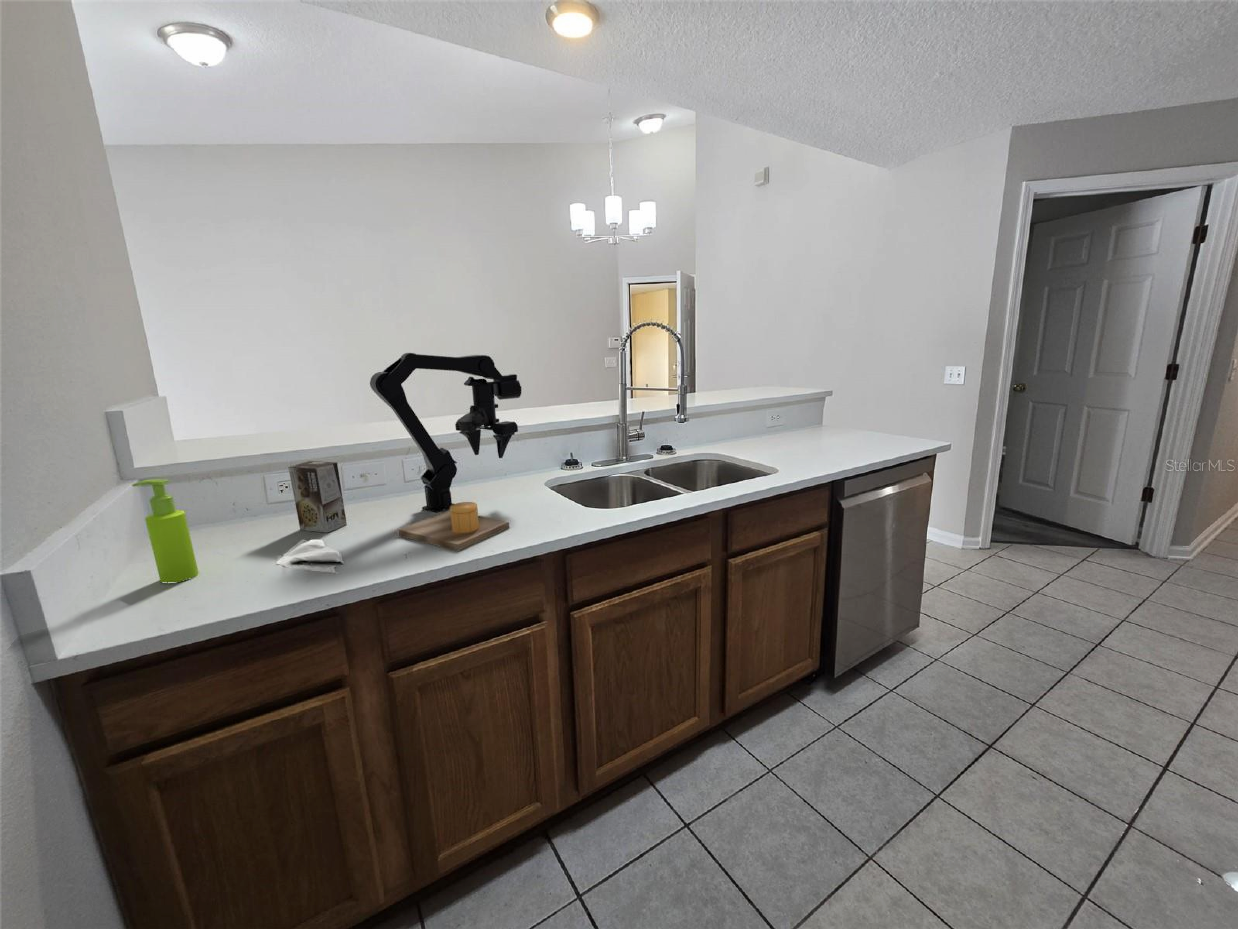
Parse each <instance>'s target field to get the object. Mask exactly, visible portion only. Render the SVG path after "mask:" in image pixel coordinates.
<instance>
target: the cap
mask: <svg viewBox="0 0 1238 929" xmlns="http://www.w3.org/2000/svg"><path fill="white" fill-rule="evenodd" d="M449 510H450V515H451V525H452V532H456V533H467V532H473V531H475V530H477V529H479V520H478V516H479V510H478V504H477V502H474V501H462V502H457V503H454V504H453V505H451V506H450V508H449Z"/></svg>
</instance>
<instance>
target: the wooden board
mask: <svg viewBox="0 0 1238 929" xmlns="http://www.w3.org/2000/svg"><path fill="white" fill-rule="evenodd" d="M478 520H479V529H477V530H475V531H473V532H467V533H456V532H452V525H451V515H450V509H449V510H447V511H444V512H441V513H439V514H436V515H432V516H431V517H427V518H425V519H422V520H420V521H417V522H415V523H412V524H409V525H406V526H403V527H399V528H398V529H397V534H398V536H399V537H403V538H407V537H408V538H407V539H411V540H415V541H418V542H422V543H427V544H430V545H434V544H435V545H434V546H438V545H439V546H438V547H441V548H442V547H443V548H446V549H449V548H450V550H454V551H457V552H459V551H461V550H464V549H466V548H469V547H470V545H471V546H472V544H473V545H475V544H478V543H479V542H481V541H483V540H486V539H487V537H488V538H489V537H490V538H491V537H492V536H494V534H495V535H497V534H499V533H501V532H504V531H505V530H507V528H508V529H510V521H506V520H501V519H496V518H493V517H492V518H491V517H488V516H482V515H478ZM500 531H501V532H500Z"/></svg>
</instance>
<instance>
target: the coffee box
mask: <svg viewBox="0 0 1238 929" xmlns="http://www.w3.org/2000/svg"><path fill="white" fill-rule="evenodd" d="M338 466H339V465H338V462H336V461H335V462H334V461H314V460H313V461H312V460H309V461H305V462H301V463H298V464H296V465H292V466H288V471H289V478H290V483H291V488H292V493H293V498H294V502H295V503H294V504H295V508H296V509H295V510H296V514H297V520H298V524H299V529H300V531H309V532H319V533H329V532H332V531H334V530H337V529H340V528H342V527H345V526H347V524H348V523H347V519H346V511H345V504H344V498H343V492H342V485H341V484H342V483H341V480H340V478H341V477H340V472H339V467H338Z"/></svg>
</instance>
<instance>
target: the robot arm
mask: <svg viewBox="0 0 1238 929" xmlns="http://www.w3.org/2000/svg"><path fill="white" fill-rule="evenodd" d="M416 369H417V370H421V369H422V370H437V371H450V372H451V371H452V372H453V371H454V372H458V373H459V372H460V373H463V374H467V375H470V376H469V377H468V378H467V380H465V382H463V385H464V386H467V387H471V390H472V402H473V403H472V404H473V405H470V406H469V412H468V413H466V414H464V415H463V416H461V417H459V419H457V421H456V422H455V423H454V424H455V425H454V426H455V431H458V432H459V434H461V435H462V436H464V437H465V438H466V439H467V441H468V443H469V445H470V447H471V449H472V452H473V453H474V455H475V456H478V455H479V454H480V446H481V432H482V430H487V431H492V432H493V435H492V438H494V439H495V441H496V449H497V450H496V451H497V457H498V459H502V458H503V457H504V455H505V451H506V449H507V447H508V445H509V442H510V440H511V438H512V437H513V436H514V435H516V433H518V432H519V429H518V428H519V426H518V423H517V422H515V421H506V420H505V421H500V418H497V417H496V416H497V414H496V409H498V408H499V404H498V403H496V402H495V397H496V398H497V399H498V400H500V401H501V400H511V399H512V400H513V399H518V398H520V397H521V395H522V385H521V382H520V381H519V379H518V374H515V373H511V374H505V375H502V374H501V372H500V371H499V369H498V368H497V367H496V366H495V362H494V360H493V358H492V357H491V356H489V355H485V354H474V355H473V354H472V355H471V354H470V355H464V356H463V355H462V356H456V357H455V356H443V355H433V354H431V355H429V354H418V353H415V352H405V353H403V354H402V355H401V356H400V357H399V358H398V359H397V360H396V361H394V362H392V364H390V365H389V366H388V367H385V369H384V370H383V371H379V372H376V373H373V375H372V376H371V378H370V381H369V386H370V389H371V390H372V391H373V392H374V393H375V394H376V395H377V397H379V398H380V399H381V401H383V402H384V404H386V405H387V406H388V407H390V409H391V410H392V411H393V412H394V414H395V416H396V417H397V418H398V420H399V421H400V423H401V424H402V426H403V427H404V428H405V430H406V431H407V433H408V435H409V436H410V437H411V439H412V440H413V442H414V443H415V444H416V446H417V448H419V451H420V453H422V456H423V457H422V458H423V460H424V463H425V465H426V468H427V469H426V470H425V472H423V474H422V475H421V476H420V480H421V482H422V483H423V485H424V494H425V503H426V505H424V506H422V507H421V509H422V510H425V511H428V512H429V511H430V512H435V513H439V512H442V511H445V510H448V509H450V506H451V505H453V504H455V503H454V502H453V501H452V494H451V489H450V488H451V487H452V482H453V479H454V478H455V477H456V475H457V472H458V467H457V465H456V464H457V463H458V462H457V461H456V460H454V458H453V457H452V455H451V452H450V451H449V450H448V449H446V448H444V447H440V448H439V447H438V446H437V444H436V443H435V441H434V440H433V438H432V437H431V435H430V434H429V432H428V431H427V430H426V427H424V424H423V423H422V421H420V419H419V417H418V416H417V414H416V412H415V411H414V410H413V408H412V407H411V406H410V404H409V402H408V399H407V396H406V392H405V390H404V387H403V386H402V384H403V383H405V382H406V380H407V379H409V377H410V376H411V375H412V374H413V372H414V371H415V370H416ZM471 375H472V376H471ZM474 376H476V377H482V378H474ZM487 380H492V381H487Z"/></svg>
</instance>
